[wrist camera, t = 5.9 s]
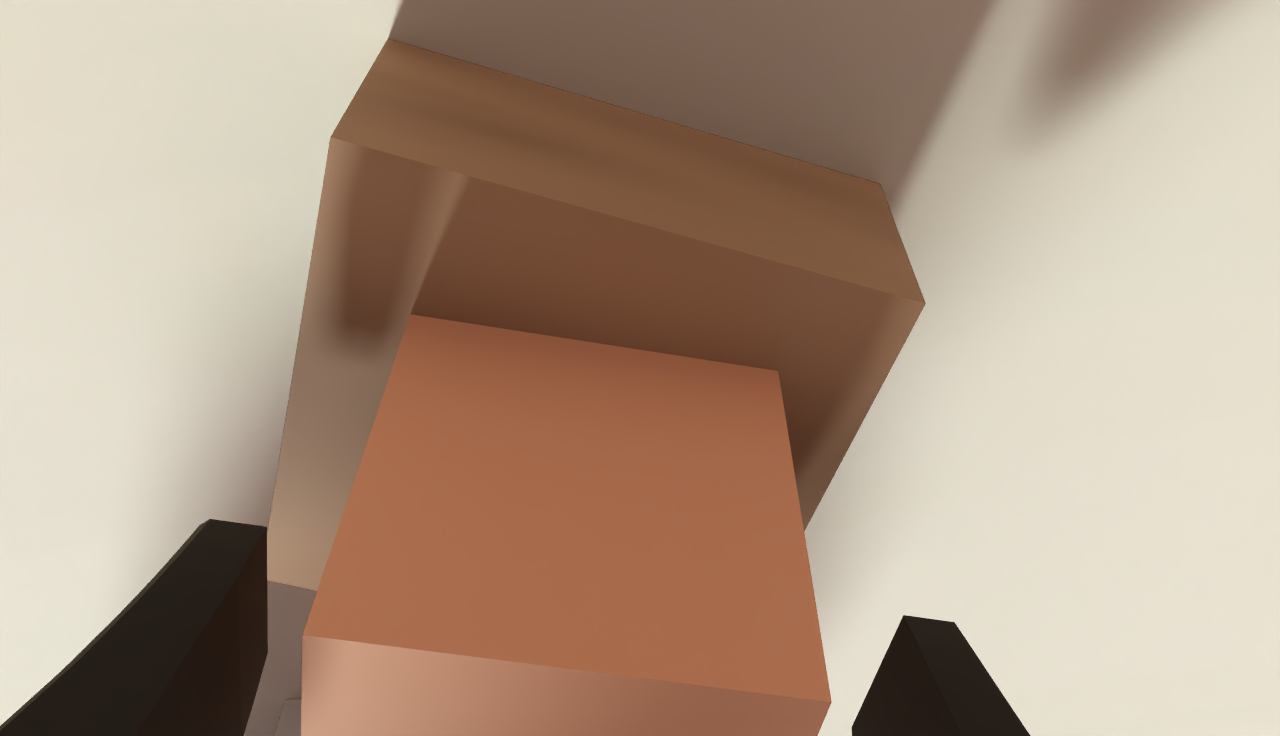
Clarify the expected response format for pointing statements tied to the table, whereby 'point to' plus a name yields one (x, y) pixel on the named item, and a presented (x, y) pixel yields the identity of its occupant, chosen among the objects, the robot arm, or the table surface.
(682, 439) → the rust block
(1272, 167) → the table surface
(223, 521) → the robot arm
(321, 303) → the walnut slab
